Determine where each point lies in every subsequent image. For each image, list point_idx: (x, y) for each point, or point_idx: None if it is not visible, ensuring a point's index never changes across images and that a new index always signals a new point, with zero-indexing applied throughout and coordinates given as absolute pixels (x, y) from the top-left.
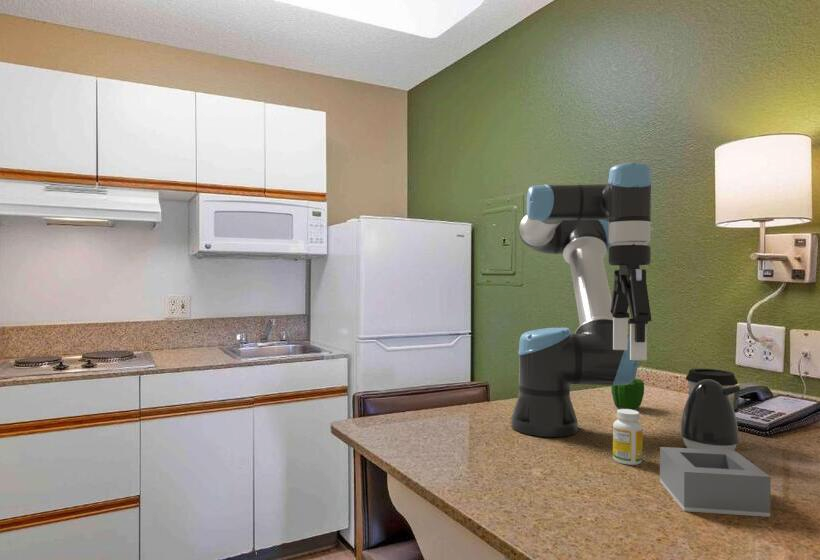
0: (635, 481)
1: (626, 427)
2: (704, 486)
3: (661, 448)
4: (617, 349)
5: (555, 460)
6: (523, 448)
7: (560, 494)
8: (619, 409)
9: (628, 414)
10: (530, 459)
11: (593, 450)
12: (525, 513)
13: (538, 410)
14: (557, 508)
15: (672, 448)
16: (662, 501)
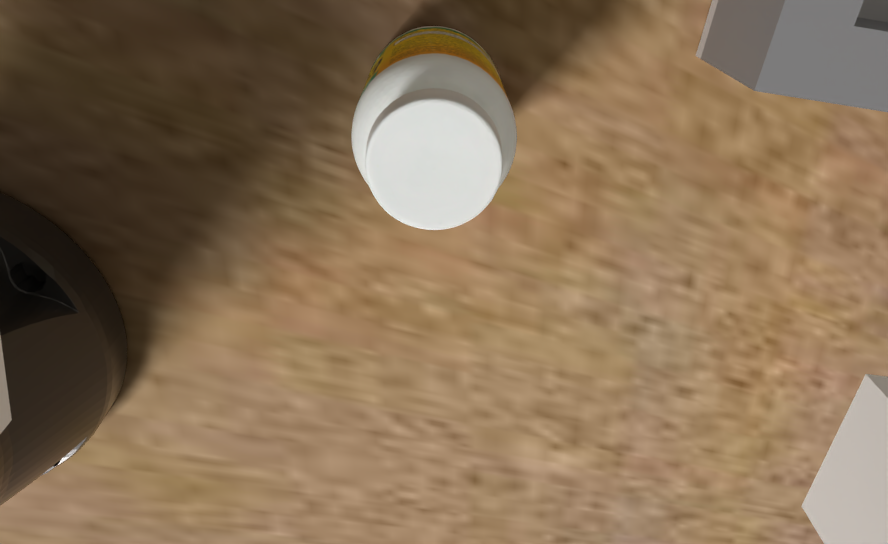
0: (681, 159)
1: (503, 178)
2: None
3: (778, 94)
4: (4, 384)
5: (434, 379)
6: (296, 456)
7: (749, 435)
8: (384, 203)
9: (497, 188)
10: (425, 455)
11: (293, 198)
12: None
13: (48, 451)
14: None
15: (790, 33)
16: (879, 139)
